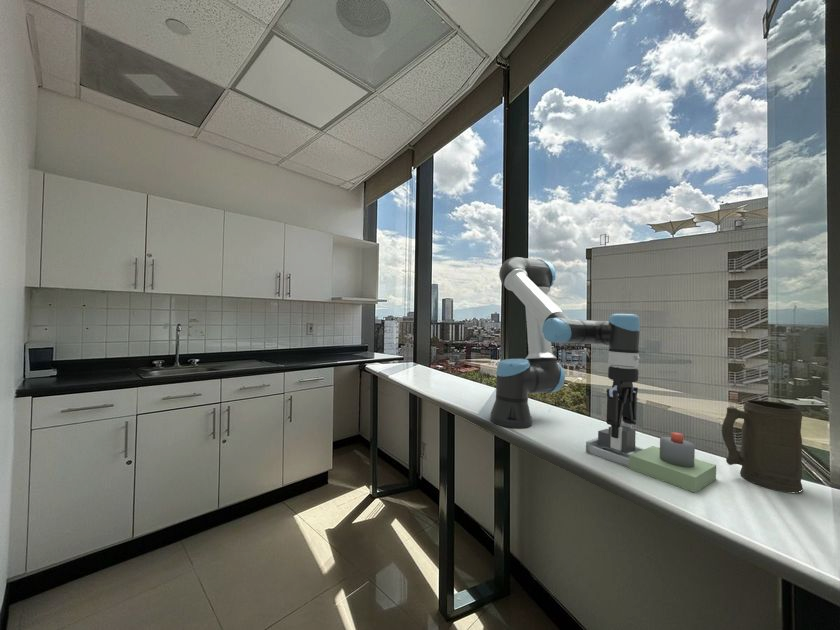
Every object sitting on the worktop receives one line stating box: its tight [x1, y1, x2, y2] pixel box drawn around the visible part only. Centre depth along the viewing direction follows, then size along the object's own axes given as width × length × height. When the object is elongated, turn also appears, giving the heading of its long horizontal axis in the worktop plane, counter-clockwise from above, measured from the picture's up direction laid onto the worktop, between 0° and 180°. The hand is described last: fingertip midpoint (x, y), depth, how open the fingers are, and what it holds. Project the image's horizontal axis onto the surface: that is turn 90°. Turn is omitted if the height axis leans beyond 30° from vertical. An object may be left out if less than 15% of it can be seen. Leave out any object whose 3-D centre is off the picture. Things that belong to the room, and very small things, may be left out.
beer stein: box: [721, 399, 804, 493], centre depth 82 cm, size 15×11×20 cm
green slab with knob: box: [585, 431, 717, 493], centre depth 89 cm, size 26×14×10 cm, turn 33°
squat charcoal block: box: [597, 426, 637, 454], centre depth 96 cm, size 8×5×6 cm, turn 33°
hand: (621, 447), depth 95 cm, fingers closed on squat charcoal block, 5 cm apart
